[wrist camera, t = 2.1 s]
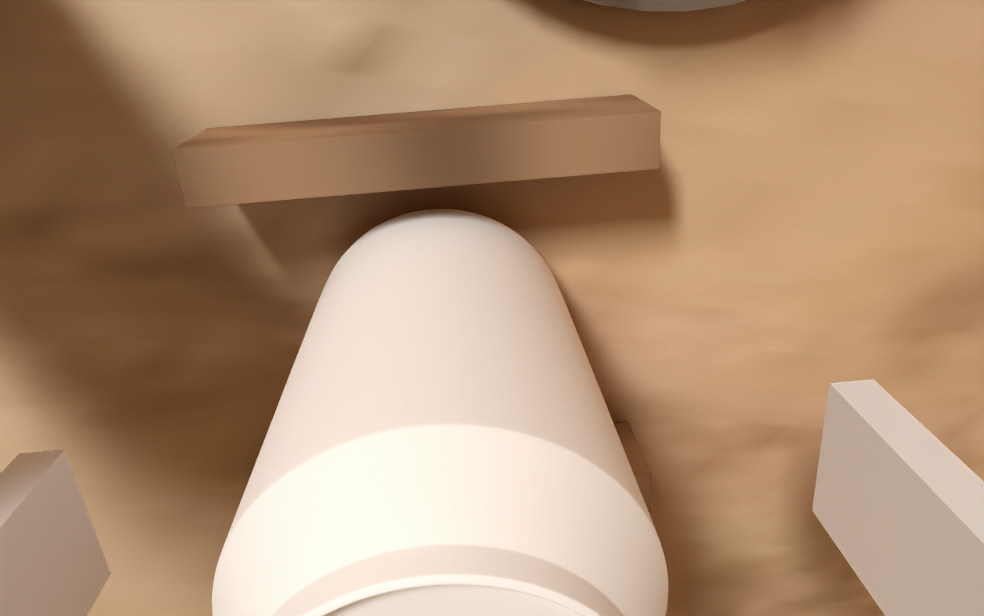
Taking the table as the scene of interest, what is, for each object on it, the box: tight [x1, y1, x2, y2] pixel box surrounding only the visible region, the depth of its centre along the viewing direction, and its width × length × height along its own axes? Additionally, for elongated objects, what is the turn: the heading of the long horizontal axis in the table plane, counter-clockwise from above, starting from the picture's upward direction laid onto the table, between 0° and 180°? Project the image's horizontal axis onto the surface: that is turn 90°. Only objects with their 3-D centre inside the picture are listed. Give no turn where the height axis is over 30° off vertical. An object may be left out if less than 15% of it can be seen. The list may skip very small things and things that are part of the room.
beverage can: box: [212, 209, 668, 616], centre depth 14 cm, size 6×6×12 cm
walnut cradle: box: [172, 95, 661, 512], centre depth 18 cm, size 10×10×2 cm
